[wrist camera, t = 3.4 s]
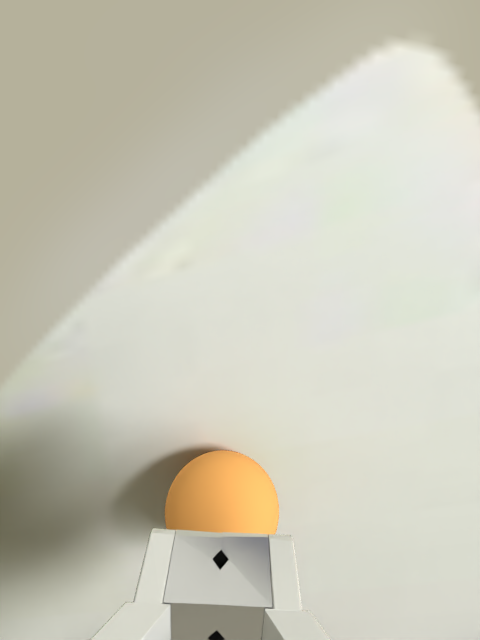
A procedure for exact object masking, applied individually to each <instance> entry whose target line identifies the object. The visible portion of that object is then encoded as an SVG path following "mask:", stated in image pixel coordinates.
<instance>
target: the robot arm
mask: <svg viewBox="0 0 480 640" xmlns="http://www.w3.org/2000/svg"><path fill="white" fill-rule="evenodd" d="M91 640H331V639H330V638H329V636H328V635H327V634H326V632H325V631H324V630H323V628H322V627H321V625H320V624H319V623H318V621H317V620H316V619H315V617H314V616H313V615H312V613H311V612H310V611H305V610H302V605H301V597H300V589H299V581H298V573H297V565H296V557H295V549H294V541H293V538H292V536H291V535H276V534H268V535H267V534H259V533H231V532H222V533H217V532H204V531H191V530H173V529H159V528H153V529H152V531H151V533H150V536H149V540H148V544H147V548H146V552H145V556H144V560H143V564H142V568H141V572H140V576H139V580H138V584H137V589H136V593H135V597H134V601H133V602H125V603H124V604H123V606H122V607H121V608H120V609H119V610H118V611H117V612H116V613H115V614H114V615H113V616H112V617H111V618H110V619H109V620H108V621H107V623H106V624H105V625H104V626H103V627H102V628H101V629H100V630H99V631H98V632H97V633H96V634H95V635H94V636H93V637H92V639H91Z"/></svg>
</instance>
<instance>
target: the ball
mask: <svg viewBox="0 0 480 640" xmlns="http://www.w3.org/2000/svg"><path fill="white" fill-rule="evenodd" d="M278 519H279V504H278V498H277V494H276V491H275V488H274V485H273V483H272V481H271V479H270V478H269V476H268V474H267V473H266V472H265V470H264V469H263V468H262V467H261V466H260V465H259V464H258V463H256V462H255V461H254V460H252V459H251V458H249V457H247V456H245V455H243V454H241V453H238V452H234V451H227V450H219V451H212V452H208V453H205V454H202V455H200V456H198V457H196V458H195V459H193V460H191V461H190V462H189V463H188V464H187V465H185V466H184V467H183V468H182V470H181V471H180V472H179V473H178V474H177V476H176V477H175V479H174V481H173V483H172V484H171V487H170V489H169V492H168V495H167V499H166V505H165V523H166V528H167V529H173V530H191V531H204V532H217V533H222V532H231V533H259V534H267V535H268V534H275V533H276V530H277V525H278Z"/></svg>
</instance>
